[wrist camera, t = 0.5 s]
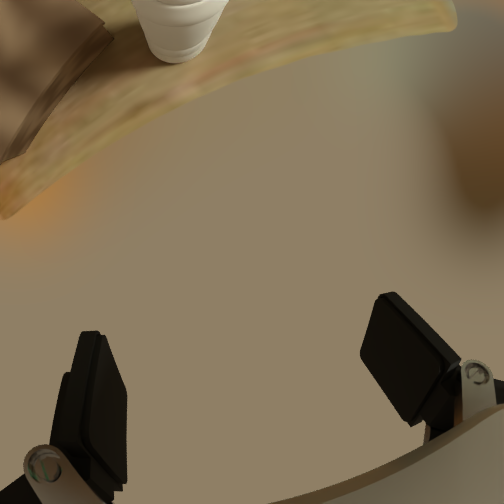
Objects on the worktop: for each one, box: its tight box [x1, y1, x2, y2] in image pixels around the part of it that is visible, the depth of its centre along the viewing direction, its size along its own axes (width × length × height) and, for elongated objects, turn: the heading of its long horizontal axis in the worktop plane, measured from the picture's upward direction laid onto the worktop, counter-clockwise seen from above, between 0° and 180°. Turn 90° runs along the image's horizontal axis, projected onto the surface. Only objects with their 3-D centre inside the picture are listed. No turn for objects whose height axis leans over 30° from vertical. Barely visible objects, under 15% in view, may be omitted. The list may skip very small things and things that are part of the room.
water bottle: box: [131, 0, 229, 63], centre depth 18 cm, size 7×7×25 cm
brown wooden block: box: [0, 0, 114, 165], centre depth 20 cm, size 19×19×8 cm
